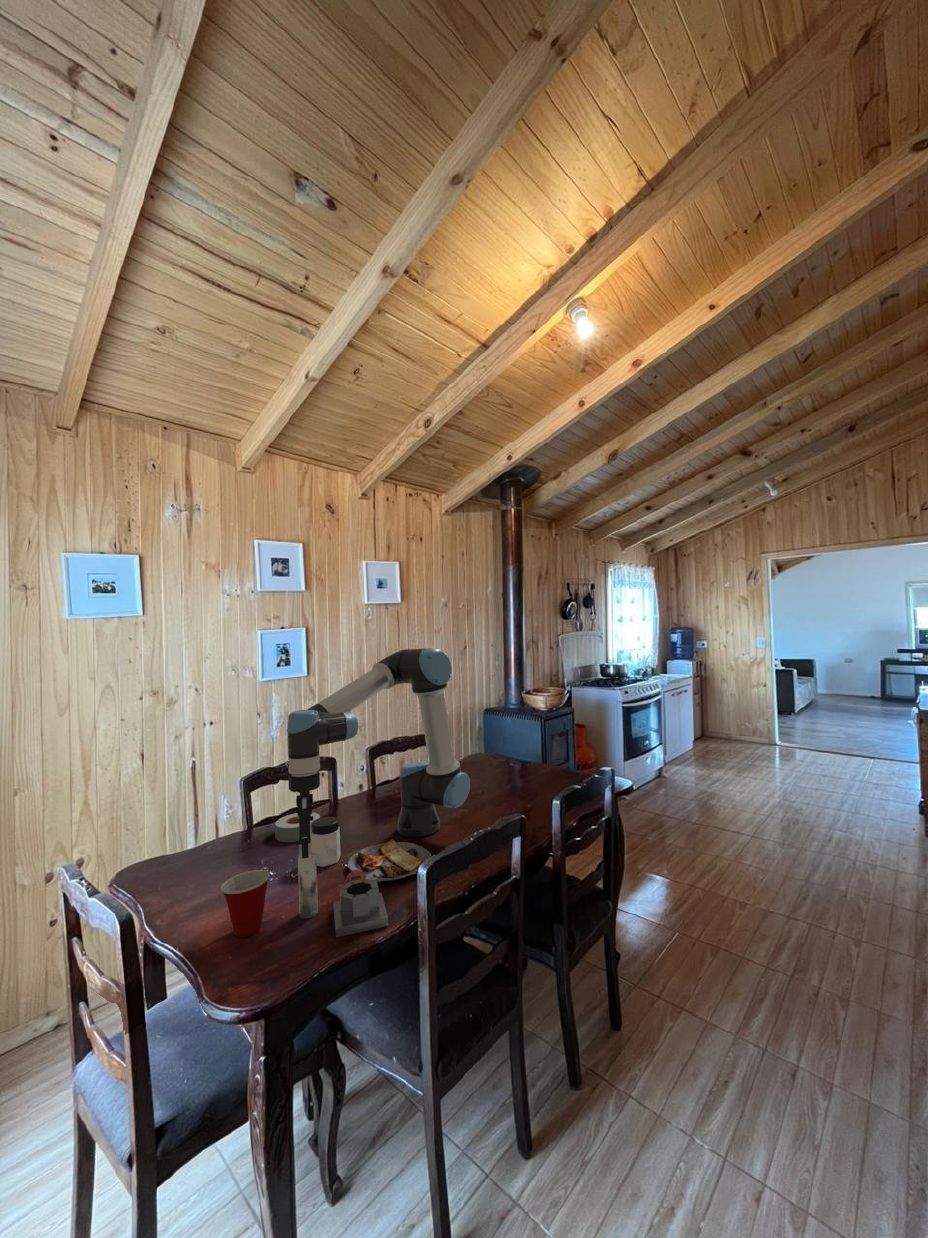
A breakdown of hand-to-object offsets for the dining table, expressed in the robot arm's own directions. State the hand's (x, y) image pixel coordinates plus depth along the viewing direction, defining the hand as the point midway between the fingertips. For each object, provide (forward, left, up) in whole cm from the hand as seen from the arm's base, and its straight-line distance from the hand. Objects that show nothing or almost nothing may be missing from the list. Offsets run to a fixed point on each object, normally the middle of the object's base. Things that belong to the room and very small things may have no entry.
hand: (305, 858), depth 122 cm
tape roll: (+4, -56, -14) cm, 58 cm away
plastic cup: (+14, +2, -14) cm, 20 cm away
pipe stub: (0, 0, -14) cm, 14 cm away
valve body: (-12, +5, -13) cm, 19 cm away
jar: (-5, -29, -14) cm, 33 cm away
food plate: (-23, -18, -14) cm, 33 cm away
